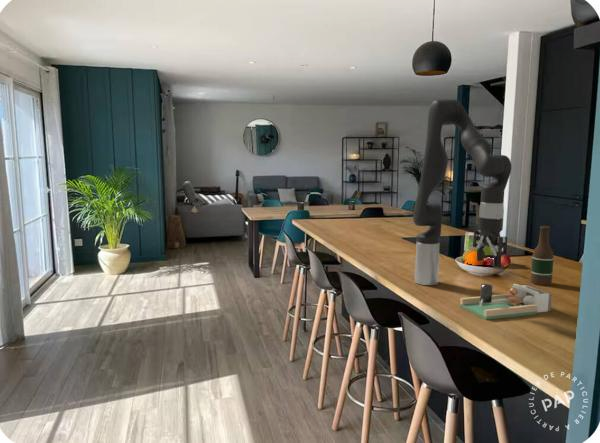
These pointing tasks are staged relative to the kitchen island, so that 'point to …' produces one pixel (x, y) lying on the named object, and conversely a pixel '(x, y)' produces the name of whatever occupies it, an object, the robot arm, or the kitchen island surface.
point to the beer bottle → (542, 260)
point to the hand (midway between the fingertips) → (488, 263)
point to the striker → (487, 299)
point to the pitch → (496, 308)
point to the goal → (535, 296)
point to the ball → (528, 300)
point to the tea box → (469, 242)
